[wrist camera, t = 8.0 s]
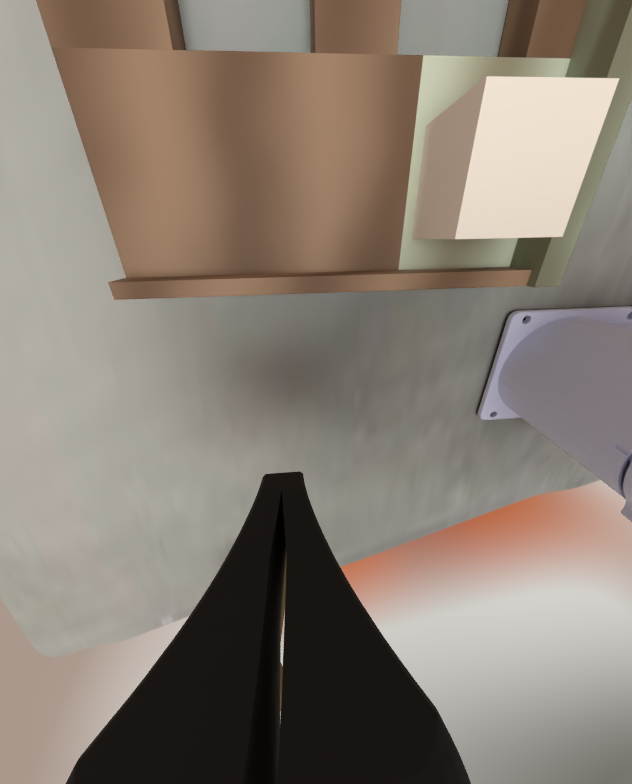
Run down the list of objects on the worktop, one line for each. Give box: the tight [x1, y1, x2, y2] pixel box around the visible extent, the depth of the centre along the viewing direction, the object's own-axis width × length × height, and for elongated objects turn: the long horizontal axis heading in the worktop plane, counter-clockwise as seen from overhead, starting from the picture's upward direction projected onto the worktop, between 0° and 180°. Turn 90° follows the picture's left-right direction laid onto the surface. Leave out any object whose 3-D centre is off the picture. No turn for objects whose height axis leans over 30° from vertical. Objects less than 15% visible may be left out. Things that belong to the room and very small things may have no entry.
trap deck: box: [36, 0, 632, 300], centre depth 11 cm, size 20×14×4 cm
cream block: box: [411, 76, 620, 239], centre depth 11 cm, size 4×4×4 cm
